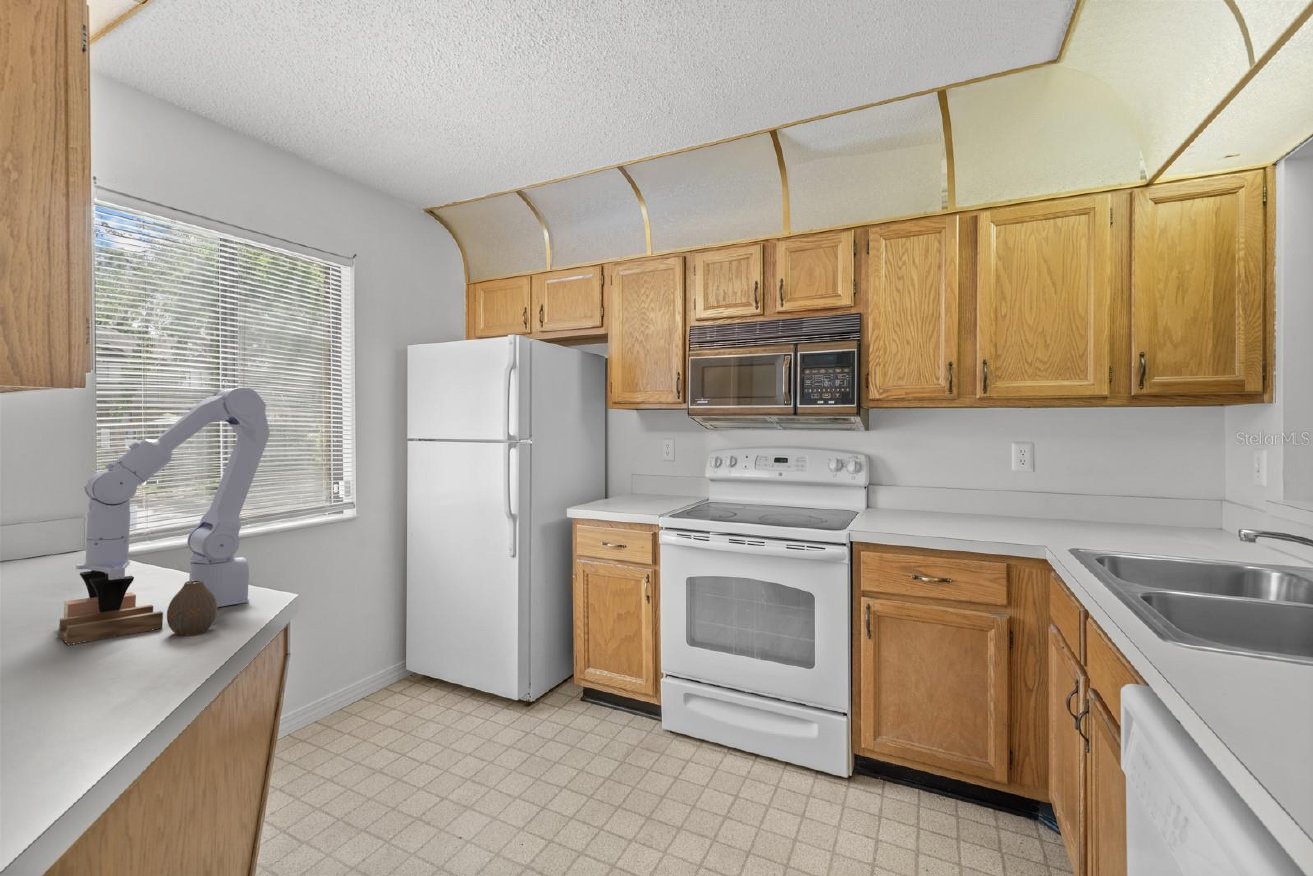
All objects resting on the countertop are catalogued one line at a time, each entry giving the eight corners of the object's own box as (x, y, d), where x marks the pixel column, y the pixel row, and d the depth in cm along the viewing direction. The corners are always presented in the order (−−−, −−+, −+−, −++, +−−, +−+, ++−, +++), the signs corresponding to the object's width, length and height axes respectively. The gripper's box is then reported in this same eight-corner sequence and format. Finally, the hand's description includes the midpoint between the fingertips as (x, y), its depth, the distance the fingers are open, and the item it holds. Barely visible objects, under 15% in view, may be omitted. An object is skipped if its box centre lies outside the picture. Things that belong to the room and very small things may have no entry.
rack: (150, 620, 109) (151, 604, 109) (162, 628, 105) (163, 612, 105) (58, 635, 100) (59, 618, 100) (67, 645, 95) (68, 627, 95)
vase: (220, 632, 104) (222, 582, 104) (169, 641, 99) (172, 588, 99) (211, 623, 109) (213, 575, 109) (162, 631, 104) (165, 580, 104)
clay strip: (130, 616, 112) (131, 592, 112) (134, 619, 110) (135, 595, 110) (63, 627, 104) (64, 601, 104) (66, 630, 103) (67, 604, 103)
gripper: (69, 534, 109) (65, 609, 109) (87, 545, 100) (83, 626, 100) (120, 531, 114) (116, 602, 114) (141, 540, 106) (137, 617, 106)
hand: (104, 613), depth 108 cm, fingers open, 6 cm apart
